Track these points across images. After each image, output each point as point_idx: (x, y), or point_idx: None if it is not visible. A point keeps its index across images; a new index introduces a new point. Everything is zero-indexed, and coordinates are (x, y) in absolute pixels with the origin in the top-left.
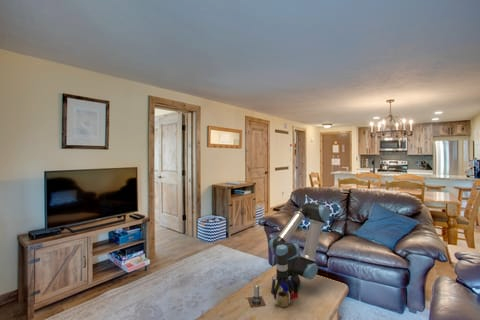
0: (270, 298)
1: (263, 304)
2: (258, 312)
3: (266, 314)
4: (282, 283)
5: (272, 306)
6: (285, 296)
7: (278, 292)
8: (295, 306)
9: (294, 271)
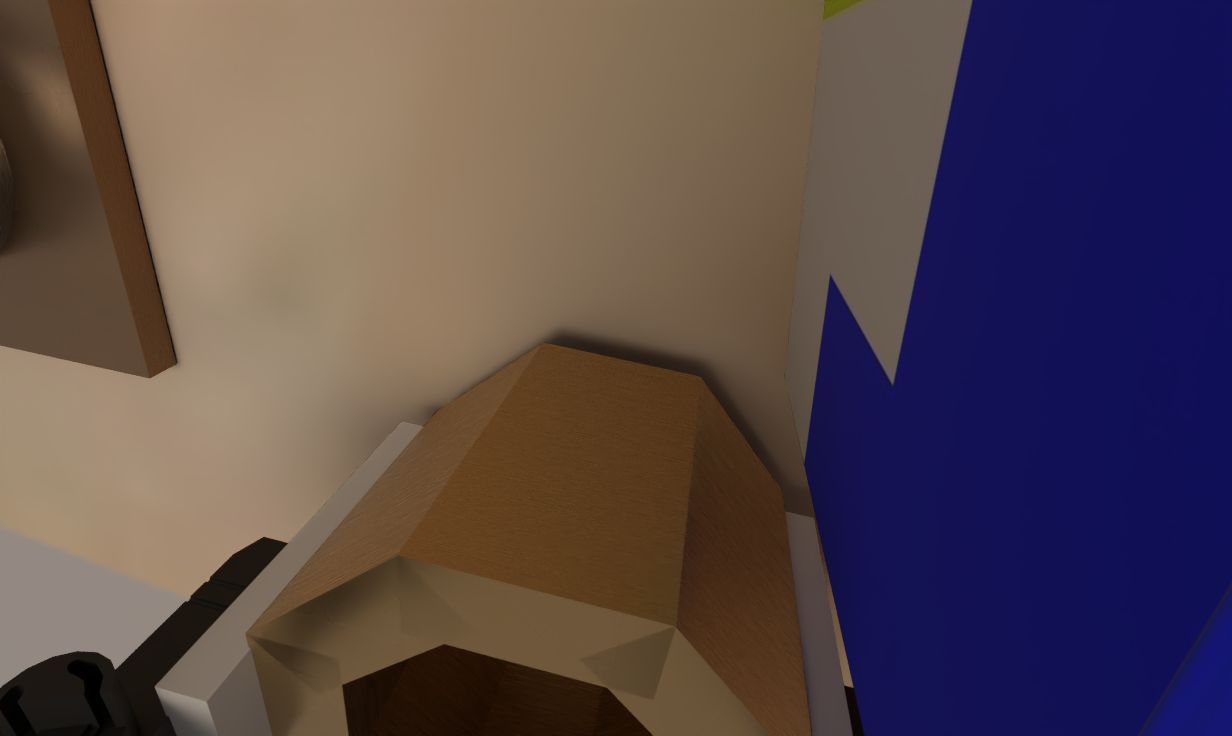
0: (366, 93)
1: (90, 350)
2: (21, 477)
3: (170, 572)
4: (1154, 677)
5: (330, 444)
6: None
7: (377, 637)
8: (844, 646)
9: None
